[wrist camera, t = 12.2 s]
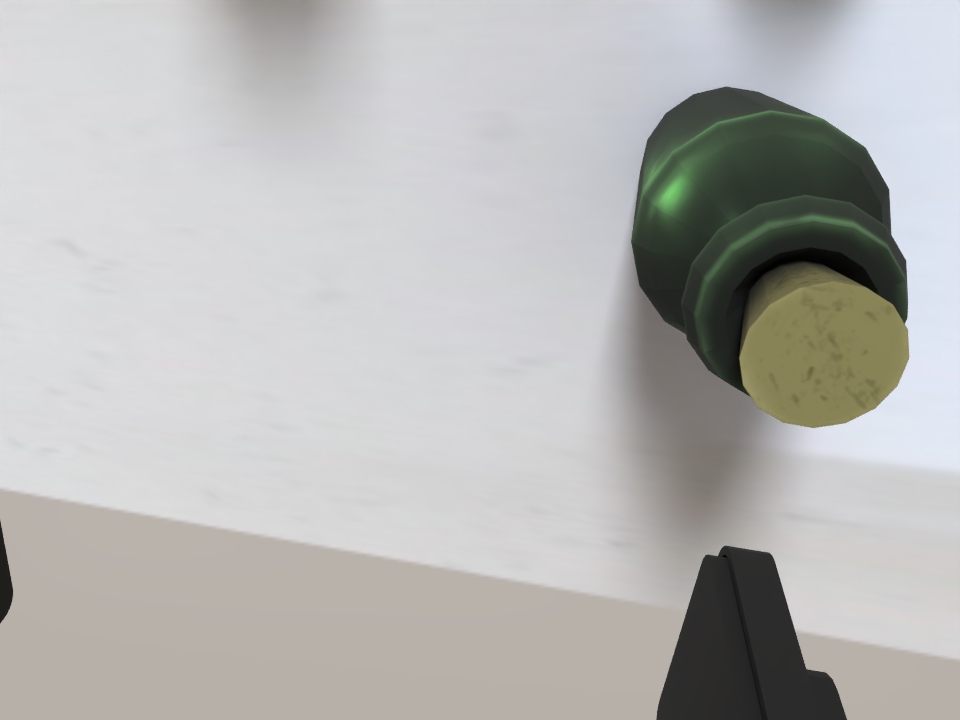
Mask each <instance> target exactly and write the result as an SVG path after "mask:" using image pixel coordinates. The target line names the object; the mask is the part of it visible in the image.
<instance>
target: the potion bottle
mask: <svg viewBox="0 0 960 720" xmlns="http://www.w3.org/2000/svg"><path fill="white" fill-rule="evenodd" d="M631 243H632V248H633V253H634V259H635V264H636V269H637V275H638V280H639V285H640V287H641V288H642V290H643V291H644V293H645V294H646V295H647V297H648V298H649V300H650V301H651V303H652V304H653V305H654V307H655V308H656V310H657V311H658V312H659V314H660V315H661V317H662V318H663V320H664V321H665V322H667V323H668V324H670V325H672V326H673V327H675V328H677V329H678V330H680V331H682V332H683V333H685V334H686V335H687V340H688V341H689V343H690V344H691V346H692V347H693V349H694V350H695V351H696V353H697V354H698V356H699V357H700V359H701V360H702V361H703V363H704V364H705V366H706V367H707V369H708V370H709V371H711V372H712V373H714V374H715V375H716V376H718V377H719V378H721V379H722V380H724V381H725V382H727V383H729V384H730V385H732V386H734V387H735V388H737V389H739V390H740V391H742V392H744V393H745V394H747V395H749V396H750V397H752V399H753V400H754V402H755V403H756V405H757V406H758V408H760V409H762V410H763V411H765V412H767V413H768V414H770V415H772V416H773V417H775V418H776V419H778V420H780V421H781V422H783V423H789V424H794V425H800V426H805V427H811V428H816V427H823V426H830V425H836V424H843V423H847V422H849V421H851V420H853V419H855V418H857V417H859V416H861V415H863V414H865V413H867V412H869V411H871V410H873V409H875V408H876V407H877V406H878V405H879V404H880V403H881V402H882V401H883V400H884V399H885V398H886V397H887V396H888V395H889V394H890V393H891V392H892V391H893V390H894V389H895V388H896V387H897V386H898V383H899V381H900V379H901V376H902V374H903V372H904V369H905V367H906V364H907V362H908V360H909V344H908V329H907V327H906V326H905V322H906V320H907V314H908V292H907V270H906V260H905V258H904V256H903V255H902V253H901V251H900V249H899V248H898V246H897V244H896V242H895V241H894V239H893V237H892V235H891V218H890V198H889V188H888V187H887V185H886V183H885V181H884V180H883V178H882V176H881V174H880V172H879V171H878V169H877V167H876V165H875V164H874V162H873V160H872V158H871V157H870V155H869V153H868V151H867V149H866V148H865V147H864V146H862V145H861V144H859V143H858V142H857V141H855V140H854V139H852V138H851V137H849V136H848V135H846V134H845V133H843V132H842V131H840V130H839V129H837V128H836V127H834V126H833V125H831V124H830V123H828V122H827V121H825V120H824V119H822V118H819V117H817V116H814V115H812V114H810V113H807V112H805V111H802V110H800V109H798V108H795V107H793V106H790V105H788V104H786V103H783V102H781V101H778V100H776V99H774V98H771V97H769V96H766V95H764V94H762V93H759V92H755V91H749V90H743V89H737V88H731V87H723V88H718V89H714V90H710V91H706V92H701V93H697V94H693V95H692V96H690V97H689V98H688V99H686V100H685V101H683V102H682V103H680V104H679V105H677V106H676V107H674V108H673V109H672V110H670V111H669V112H667V113H666V114H665V115H664V117H663V118H662V120H661V121H660V123H659V124H658V126H657V127H656V128H655V130H654V131H653V133H652V134H651V136H650V137H649V139H648V140H647V144H646V149H645V153H644V157H643V162H642V166H641V171H640V178H639V186H638V194H637V201H636V209H635V217H634V225H633V232H632V240H631Z"/></svg>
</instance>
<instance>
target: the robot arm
mask: <svg viewBox="0 0 960 720" xmlns="http://www.w3.org/2000/svg"><path fill="white" fill-rule="evenodd" d="M12 597H13V587H12V582H11V576H10V571H9V565H8V561H7V555H6V549H5V544H4V538H3V533H2V528H1V522H0V623H1V622H2V620H3V619H4V617H5V616H6V615H7V613H8V610H9V609H10V606H11V602H12ZM657 720H847V718H846V715H845V712H844V709H843V706H842V703H841V700H840V697H839V694H838V691H837V689H836V686H835V684H834V682H833V680H832V678H831V677H830V676H829V675H828V674H827V673H825V672H819V671H812V670H807V669H806V667H805V664H804V660H803V657H802V654H801V650H800V646H799V643H798V640H797V636H796V633H795V629H794V626H793V622H792V619H791V616H790V612H789V609H788V605H787V602H786V598H785V595H784V592H783V588H782V585H781V581H780V578H779V574H778V571H777V568H776V564H775V561H774V559H773V556H772V555H771V554H770V553H767V552H761V551H755V550H749V549H742V548H736V547H730V546H724V547H723V548H722V549H721V550H720V553H719V555H718V556H713V555H706V556H705V557H704V558H703V561H702V564H701V567H700V570H699V573H698V577H697V580H696V583H695V586H694V590H693V593H692V596H691V600H690V603H689V606H688V609H687V613H686V616H685V619H684V623H683V626H682V629H681V632H680V635H679V639H678V642H677V645H676V648H675V652H674V655H673V658H672V662H671V665H670V668H669V671H668V675H667V678H666V681H665V684H664V688H663V691H662V694H661V698H660V701H659V705H658V711H657Z"/></svg>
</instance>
